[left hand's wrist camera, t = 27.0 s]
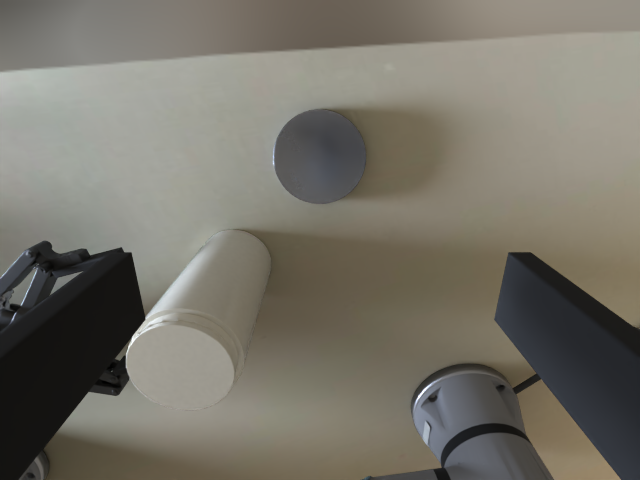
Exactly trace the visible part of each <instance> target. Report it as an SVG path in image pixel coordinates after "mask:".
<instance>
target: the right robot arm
mask: <svg viewBox="0 0 640 480" xmlns="http://www.w3.org/2000/svg"><path fill="white" fill-rule="evenodd" d="M109 252H124V251H123V249H122V247H121V248H117V249H113V250H110V251H106V252H102V253H98V254H94V255H89V253H88V251H87V249H78V250H74V251H70V252H67V253H63V254H58V253H56V252H54V251H53V250H52V245H51V243H50V242H48V241H42V242H40V243H38V244H36V245H34V246H32V247H30V248H28V249H27V250H25V251H24V252H23V253H22V254H21V255H20V256H19V258H18V259H17V260H16V261H15V262H14V263H13V264H12V265H11V267H10V268H9V269H8V270H7V271H6V272H5V273H4V274H3V275H2V277H1V278H0V331H2V330H3V329H4V328H6V327H7V326H8V325H10V324H11V323H13V322H14V321H15V320H17V319H18V318H20V317H21V316H22V315H24V314H25V313H26V312H28V311H29V310H31V309H32V308H33V307H35V306H36V305H37V304H39V303H40V302H42V301H43V300H44V299H46V298H47V297H49V295H50V293H51V291H52V289H53V287H54V284H55V282H56V280H57V278H58V277H62V276H66V275H70V274H73V273H77V272H81V271H84V270H86V269H87V268H89V267H90V266H91V265H93V264H94V263H96V262H97V261H98V260H100V259H101V258H102V257H104V256H105V255H107V254H108V253H109ZM37 264H39V265H37ZM36 265H37V266H36ZM35 268H37V271H36V273H35V275H34V278H33V280H32V282H31V284H30V287H29V289H28V291H27V293H26V296H25V298H24V300H23V302H22V305H21V306H20V305H17V304H10V303H9V299H10V298H11V297H12V293H14V290H13V288H15V287H16V286H18V285H19V284H20V283H21V282H22V281H23V280H24V278H25V277H26V276H27V275H28V274H29V273H30V272H31V271H32V270H33V269H35ZM112 370H113V372H111V371H112ZM129 379H130V377H129V375H128V372H127V368H126V355H125V356H123V358H122V359H121V360H120V361H119V360H116V359H114V360H113V361H112V363H111V364H110V365H109V367H108V368H107V369H106V370H105V372H104V373H103V374H102V375H101V377H100V378H99V379H98V380H97V382H96V383H95V384H94V385H93V387H92V388H91V389H90V390H89V392H94V393H101V394H107V395H114V396H117V395H119V394H120V392H121V391H122V390H123V388H124V387H125V385H126V384H127V382H128V381H129ZM48 471H49V463H48V460H47V457H46V455H45V453H44V452H43V450H42V451H41V452H40V453H39V455H38V456H37V457H36V458H35V460H34V461H33V462H32V464H31V465H30V466H29V467H28V469H27V470H26V471H25V472H24V474H23V475H22V476H21V477H20V479H19V480H44V479H45V478H46V476H47V474H48Z"/></svg>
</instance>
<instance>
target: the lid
mask: <svg viewBox="0 0 640 480" xmlns="http://www.w3.org/2000/svg"><path fill="white" fill-rule="evenodd" d="M273 160H274V167H275V171H276V174H277V176H278V178H279V180H280V182H281V183H282V185H283V186H284V187H285V188H286V190H287V191H289V192H290V193H291V194H292V195H294V196H295V197H297V198H298V199H300V200H303V201H305V202H309V203H315V204H324V203H330V202H334V201H337V200H339V199H341V198H343V197H345V196H346V195H347V194H349V193H350V192H351V191H352V190H353V189H354V188H355V187H356V185H357V184H358V182H359V181H360V179H361V177H362V175H363V172H364V169H365V164H366V149H365V145H364V141H363V139H362V136H361V135H360V133H359V131H358V130H357V128H356V127H355V126H354V125H353V124H352V122H350V121H349V120H348V119H347V118H345V117H344V116H342V115H341V114H338V113H336V112H334V111H330V110H324V109H315V110H309V111H306V112H303V113H301V114H299V115H297V116H296V117H294V118H293V119H291V120H290V121H289V122H288V123H287V124H286V125H285V126H284V127H283V129H282V130H281V132H280V133H279V135H278V137H277V140H276V143H275V146H274V154H273Z"/></svg>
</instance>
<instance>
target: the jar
mask: <svg viewBox="0 0 640 480" xmlns="http://www.w3.org/2000/svg"><path fill="white" fill-rule="evenodd" d="M271 266H272V264H271V257H270V254H269V252H268V250H267V248H266V246H265V245H264V244H263V243H262V242H261V241H260V240H259V239H258V238H257V237H255V236H254V235H252V234H250V233H248V232H245V231H241V230H224V231H221V232H218V233H216V234H214V235H213V236H211V237H210V238H209V239H208V240H207V241H206V242H205V243H204V245H203V246H202V247H201V248H200V250H199V251H198V252H197V253H196V255H195V256H194V257H193V258H192V260H191V261H190V262H189V263H188V264H187V266H186V267H185V268H184V269H183V271H182V272H181V273H180V274H179V276H178V277H177V278H176V279H175V281H174V282H173V283H172V284H171V286H170V287H169V288H168V289H167V291H166V292H165V293H164V294H163V296H162V297H161V298H160V299H159V300H158V302H157V303H156V304H155V305H154V307H153V308H152V309H151V310H150V312H149V313H148V314H147V315H146V317H145V318H146V320H145V321H144V322H143V324H142V325H141V326H140V327H139V329H138V330H137V331H136V332H135V334H134V335H133V336H132V341H131V342H130V344H129V347H128V350H127V353H126V368H127V372H128V375H129V377H130V379H131V381H132V383H133V384H134V385H135V387H136V388H137V389H138V390H139V391H140V392H141V393H142V394H143V395H144V396H146V397H147V398H148V399H150V400H152V401H153V402H155V403H157V404H159V405H162V406H164V407H168V408H171V409H176V410H185V411H188V410H200V409H204V408H207V407H210V406H212V405H214V404H216V403H218V402H219V401H221V400H222V399H223V398H224V397H225V396H226V395H227V394H228V393H229V391H230V389H231V388H232V386H233V385H234V384H235V382H236V381H237V380H238V378H239V377H240V375H241V373H242V370H243V367H244V363H245V360H246V356H247V353H248V349H249V346H250V342H251V339H252V335H253V332H254V328H255V325H256V321H257V318H258V314H259V311H260V307H261V304H262V300H263V297H264V294H265V290H266V287H267V283H268V280H269V276H270V272H271Z"/></svg>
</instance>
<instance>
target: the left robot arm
mask: <svg viewBox="0 0 640 480" xmlns="http://www.w3.org/2000/svg"><path fill="white" fill-rule="evenodd" d="M145 320H146V318H145V314H144V309H143V304H142V300H141V295H140V290H139V286H138V281H137V276H136V272H135V267H134V262H133V257H132V253H131V252H109V253H108V254H107V255H105V256H104V257H102V258H101V259H100V260H98V261H97V262H96V263H94V264H93V265H91V266H90V267H89V268H87V269H86V270H84V271H83V272H82V273H80V274H79V275H78V276H76V277H75V278H73V279H72V280H71V281H69V282H68V283H67V284H65V285H64V286H62V287H61V288H60V289H58V290H57V291H55V292H54V293H53V294H51V295H50V296H49V297H47V298H46V299H44V300H43V301H42V302H40V303H39V304H37V305H36V306H35V307H33V308H32V309H31V310H29V311H28V312H26V313H25V314H24V315H22V316H21V317H20V318H18V319H17V320H15V321H14V322H13V323H11V324H10V325H8V326H7V327H6V328H4V329H3V330H2V331H0V480H19V479H20V477H21V476H22V475H23V474H24V472H25V471H26V470H27V469H28V467H29V466H30V465H31V464H32V462H33V461H34V460H35V458H36V457H37V456H38V455H39V453H40V452H41V451H42V450H43V448H44V447H45V446H46V445H47V443H48V442H49V441H50V440H51V438H52V437H53V436H54V435H55V433H56V432H57V431H58V429H59V428H60V427H61V426H62V424H63V423H64V422H65V421H66V419H67V418H68V417H69V416H70V414H71V413H72V412H73V411H74V409H75V408H76V407H77V406H78V404H79V403H80V402H81V401H82V399H83V398H84V397H85V395H86V394H87V393H88V392H89V390H90V389H91V388H92V387H93V385H94V384H95V383H96V382H97V380H98V379H99V378H100V377H101V375H102V374H103V373H104V372H105V370H106V369H107V368H108V367H109V365H110V364H111V363H112V361H113V360H114V359H115V358H116V356H117V355H118V354H119V353H120V351H121V350H122V349H123V348H124V346H125V345H126V344H127V343H128V341H129V340H130V339H131V338H132V336H133V335H134V334H135V332H136V331H137V330H138V329H139V327H140V326H141V325H142V324H143V322H144V321H145ZM494 320H495V321H496V322H497V324H498V325H499V326H500V327H501V329H502V330H503V331H504V332H505V334H506V335H507V336H508V338H509V339H510V340H511V341H512V343H513V344H514V345H515V346H516V348H517V349H518V350H519V351H520V353H521V354H522V355H523V356H524V358H525V359H526V360H527V361H528V363H529V364H530V365H531V367H532V368H533V369H534V370H535V372H536V373H537V374H535V375H534V376H532V377H530V378H529V379H527V380H526V381H524V382H522V383H521V384H519V385H517V386H516V387H514V388H512V387H511V385H510V384H509V382H508V381H507V379H506V378H505V377H504V376H503V375H502V374H501V373H499V372H498V371H496V370H494V369H492V368H490V367H487V366H483V365H477V364H461V365H455V366H451V367H447V368H445V369H442V370H440V371H438V372H436V373H434V374H433V375H431V376H430V377H428V378H427V379H426V380H425V381H424V382H422V384H421V385H420V386H419V387H418V389H417V390H416V392H415V394H414V396H413V399H412V403H411V413H412V417H413V420H414V424H415V427H416V429H417V431H418V433H419V434H420V436H421V437H422V438H423V440H424V442H425V443H426V445H427V446H428V447H429V448H430V449H431V451H432V452H433V453H434V455H435V456H436V458H437V459H438V460H439V462H440V463H441V466H442V468H438V469H430V470H423V471H416V472H410V473H402V474H394V475H386V476H378V477H371V476H368V477H366V478H364V479H362V480H554V479H553V477H552V476H551V474H550V472H549V471H548V469H547V468H546V466H545V464H544V463H543V461H542V460H541V458H540V456H539V455H538V453H537V452H536V450H535V448H534V447H533V446H532V444H531V442H530V441H529V439H528V437H527V435H526V433H525V429H524V424H523V420H522V415H521V411H520V407H519V402H518V398H517V395H516V394H517V393H519V392H521V391H522V390H524V389H526V388H527V387H529V386H530V385H532V384H534V383H535V382H537V381H539V380H540V379H542V380H543V382H544V383H545V384H546V385H547V387H548V388H549V389H550V390H551V392H552V393H553V394H554V395H555V397H556V398H557V399H558V401H559V402H560V403H561V404H562V406H563V407H564V408H565V409H566V411H567V412H568V413H569V414H570V416H571V417H572V418H573V419H574V421H575V422H576V423H577V424H578V426H579V427H580V428H581V429H582V431H583V432H584V433H585V435H586V436H587V437H588V438H589V440H590V441H591V442H592V443H593V445H594V446H595V447H596V448H597V450H598V451H599V452H600V453H601V455H602V456H603V457H604V458H605V460H606V461H607V462H608V464H609V465H610V466H611V467H612V469H613V470H614V471H615V472H616V474H617V475H618V476H619V477H620V479H621V480H640V329H638V328H635V327H633V326H632V325H630V324H629V323H627V322H626V321H625V320H623V319H622V318H620V317H619V316H618V315H616V314H615V313H614V312H612V311H611V310H609V309H608V308H607V307H605V306H604V305H603V304H601V303H600V302H598V301H597V300H596V299H594V298H593V297H591V296H590V295H589V294H587V293H586V292H585V291H583V290H582V289H580V288H579V287H578V286H576V285H575V284H573V283H572V282H571V281H569V280H568V279H567V278H565V277H564V276H562V275H561V274H560V273H558V272H557V271H556V270H554V269H553V268H551V267H550V266H549V265H547V264H546V263H544V262H543V261H542V260H540V259H539V258H538V257H536V256H535V255H533V254H532V253H531V252H509V253H508V257H507V262H506V267H505V272H504V276H503V281H502V286H501V290H500V295H499V300H498V304H497V309H496V314H495V318H494Z"/></svg>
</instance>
